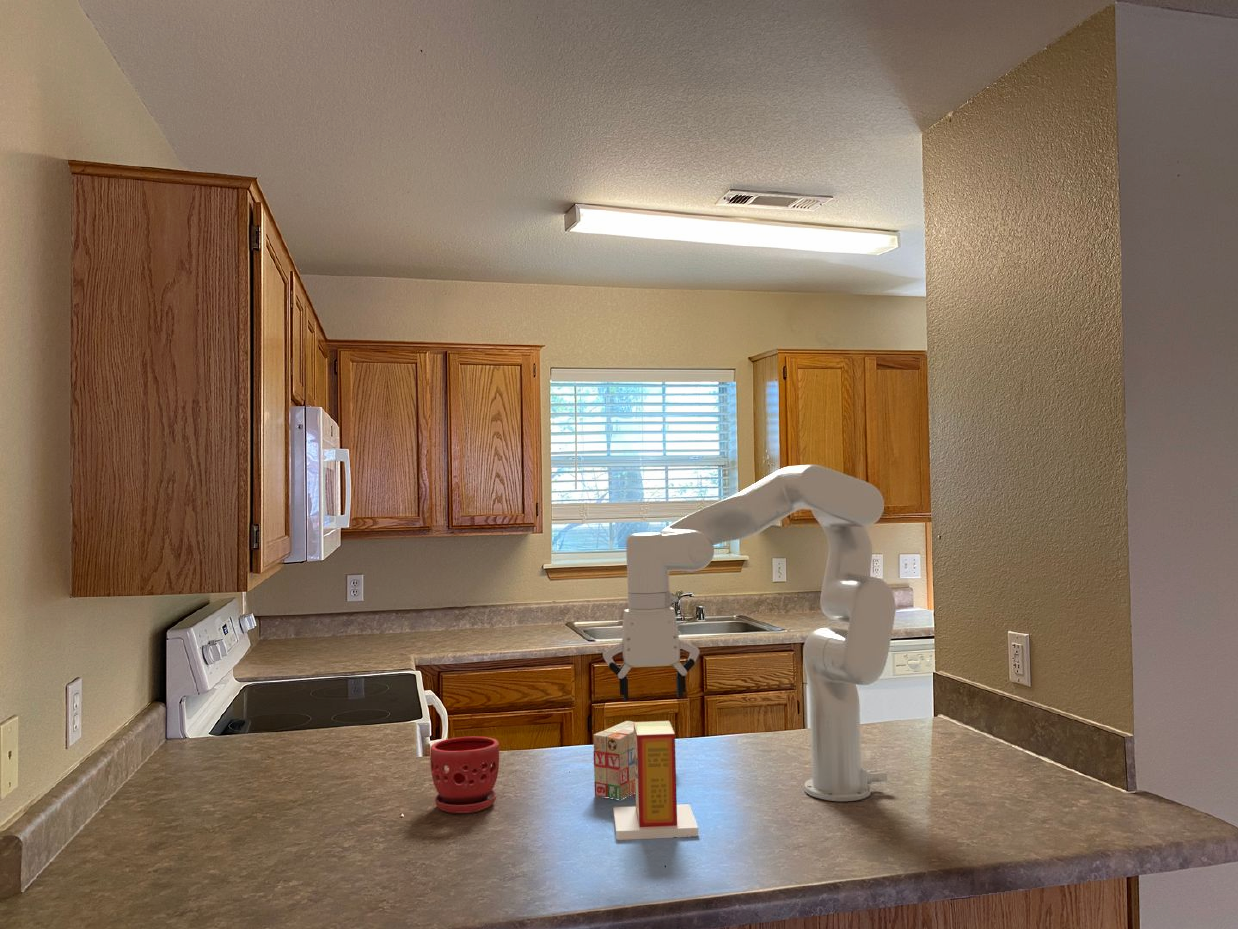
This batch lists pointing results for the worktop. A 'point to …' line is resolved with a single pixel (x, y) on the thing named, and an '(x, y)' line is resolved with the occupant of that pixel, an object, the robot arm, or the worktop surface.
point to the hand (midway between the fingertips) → (652, 698)
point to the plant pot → (465, 773)
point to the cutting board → (630, 827)
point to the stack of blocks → (614, 761)
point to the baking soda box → (655, 774)
